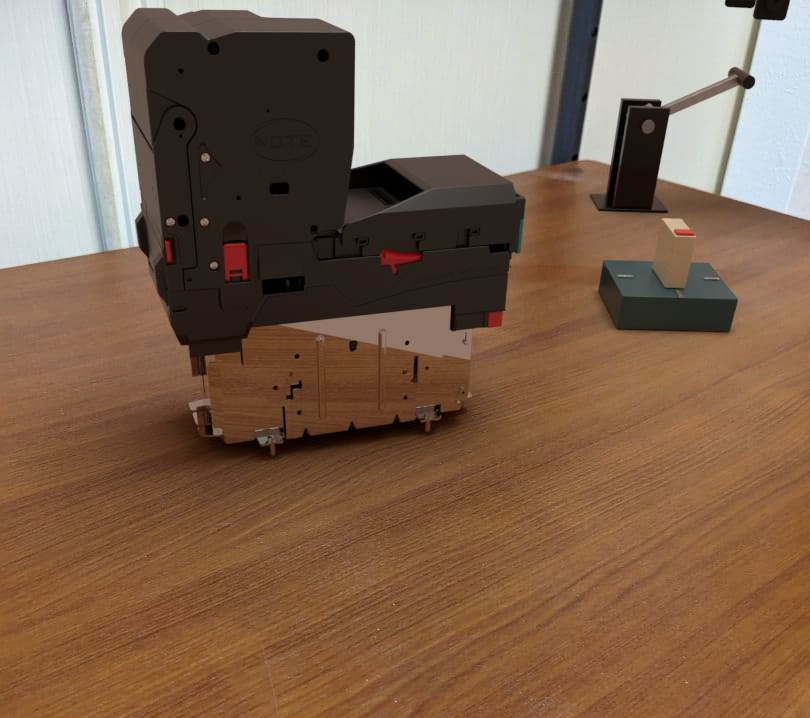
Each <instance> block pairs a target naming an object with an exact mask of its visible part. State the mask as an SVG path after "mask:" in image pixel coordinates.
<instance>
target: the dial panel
mask: <svg viewBox="0 0 810 718" xmlns="http://www.w3.org/2000/svg"><path fill="white" fill-rule="evenodd" d="M653 261H654V260H625V259H624V260H619V259H603V260H602V265H601V266H602V267H601V273H600V277H599V284H598V293H599V295H600V297H601V298H602V301H603V303H604V304H605V307H606V309H607V312H608V313H609V315H610V317H611V319H612V321H613V323H614V326H615V328H616V329H618V330H649V331H650V330H651V331H652V330H653V331H688V332H689V331H691V332H725V333H730V332H731V330H732V326H733V321H734V318H735V313H736V309H737V305H738V301H739V298H738V297H737V296H736V294H735V293H734V292H733V291H732V290H731V288H730V287H729V286H728V284H727V283H726V282H725V280H723V279H722V277H721V276H720V274H719V273H718V272H717V270H715V268H714V267H713V266H712V264H711V263H710V262H692V261H691V264H690V268H689V273H688V277H687V282H686V287H685V288H665V287H664V286H663V284H662V282H661V281H660V279H659V278H658V276H657V275H656V273H655V271H654V270H653V268H652V266H653Z"/></svg>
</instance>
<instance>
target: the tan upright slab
mask: <svg viewBox="0 0 810 718" xmlns="http://www.w3.org/2000/svg"><path fill="white" fill-rule="evenodd" d="M659 225H660V226H659V230H658V236H657V240H656V245H655V250H654V255H653V260H652V261H653V266H652V268H653V270H654V271H655V273H656V275H657V276H658V278H659V279H660V281H661V282H662V284H663V286H664V287H665V288H685V287H686V282H687V277H688V273H689V268H690V264H691V262H692V259H693V254H694V250H695V246H696V245H695V244H696V241H697V236H696V235H695V234H696V233H695V231H693V229H690V227H689V226H688V225H687V223H685V221H684V220H683V218H673V217H672V218H667V217H662V218H661V220H660V224H659Z"/></svg>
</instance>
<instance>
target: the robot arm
mask: <svg viewBox="0 0 810 718" xmlns="http://www.w3.org/2000/svg"><path fill="white" fill-rule="evenodd" d="M790 3H791V0H724V6H725V7H726V8H736V9H737V8H739V9H753V8H754V9H753V13H752V17H753V19H755V20H758V21H778V22H779V21H780V22H783V21H784V20H785V19H786V18H787V16H788V11H789V8H790Z"/></svg>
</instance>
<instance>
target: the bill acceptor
mask: <svg viewBox="0 0 810 718" xmlns="http://www.w3.org/2000/svg"><path fill="white" fill-rule="evenodd" d="M121 27H122V28H121V32H120V33H121V35H120V36H121V42H122V52H123V57H124V65H125V72H126V82H127V91H128V98H129V108H130V120H131V127H132V128H131V129H132V137H133V146H134V153H135V161H136V171H137V180H138V185H139V186H138V188H139V191H140V201H141V202H140V203H139V204H140V205H139V206H140V212H139V213H138V214H137V216H136V218H135V219H134V224H135V226H134V227H135V233H136V239H137V245H138V248H139V250H140V252H142V253H143V254H144V255H145V257H146V258H147V267H148V272H149V275H150V278H151V280H152V282H153V285H154V288H155V290H156V293H157V295H158V297H159V301H160V303H161V305H162V307H163V310H164V313H165V314H166V317H167V319H168V322H169V325H170V327H171V329H172V331H173V333H174V335H175V338H176V339H177V341H178V343H179V345H180V346H182V347H184V346H185V347H186V346H187V347H188V355H189V359H190V360H189V361H190V369H191V376H192V378H196V377H199V383H200V388H201V392H202V395H203V398H202V399H199V400H193V401H191V402H189V403H188V407H189V411H190V412H192V419H193V421H194V423H195V425H196V427H197V431H198V434H199V436H200V437H202V438H208V437H209V438H211V437H213V438H215V437H220V439H221V440H222V441H223V443H224V444H226V445H230V444H232V445H233V444H238V443H239V444H240V443H244V442H251V441H255V439H256V441H257V443H258V445H259V446H260V447H269V455H270V456H272V457H273V456H276V455H277V450H276V449H277V448H276V445H281V444H284V439H286V440H292V439H300V438H302V437H303V435H304V433H305V434H306V435H308V436H310V437H312V436H320V435H326V434H334V433H339V432H347V431H349V429H350V428H351V427H352V428H354V429H355V430H360V429H361V430H362V429H367V428H375V427H381V426H387V425H392V424H393V423H394V421H397V422H399V423H407V422H413V421H415V420H416V419H417V420H418V421H419V423H424V432H427V433H429V432H431V421H440V420H442V415H441V414H442V413H449V412H454V411H460V410H461V406H463V405H464V404H466V402H468V400H470V399H473V395H472V393H471V392H470V390H469V389H470V376H471V366H472V365H471V363H472V362H471V361H472V350H473V335H474V329H481V328H483V329H485V328H487V329H491V328H498V327H502V325H503V318H504V317H503V315H504V312H506V304H507V294H508V281H509V271H510V265H511V264H510V263H511V260H512V259H513V258H512V257H513V253H515V254H520V253H521V251H522V243H523V231H524V221H525V215H526V214H525V213H526V202H527V198H526V197H525V196H524V195H522V194H520V193H519V192H517V191H516V190H515V186H514V182H512V181H511V180H509V179H507V178H506V177H504V176H502V175H501V174H499V173H497V172H495V171H494V170H492V169H490V168H488V167H487V166H485V165H483V164H481V163H480V162H478V161H477V160H475V159H473V158H471V157H470V156H467V154H449V155H447V154H445V155H429V156H416V157H415V156H414V157H413V156H412V157H411V156H410V157H397V158H395V157H394V158H387V159H384V160H379V161H376V162H372V163H368V164H363V165H359V166H356V167H352V165H353V159H354V153H355V152H354V151H355V115H356V113H355V110H356V109H355V108H356V107H355V104H356V103H355V102H356V101H355V100H356V99H355V98H356V38H355V36H354V34H353V33H352V32H350V31H348V30H345V29H343V28H341V27H339V26H336V25H334V24H333V23H330V22H328V21H325V20H323V19H321V18H311V17H309V18H308V17H270V16H269V17H268V16H262V15H259V14H256V13H254V12H252V11H250V10H248V9H199V10H196V11H193V10H192V11H188V12H184V13H181V14H178V15H177V14H176V13H174V12H173V11H172V10H171V9H169V8H166V7H137V8H136V9H134V10H133V12H132V13H131V15H130V16H129V17H128V18H127V20H126V21H125V22H124V23H123V25H122V26H121Z"/></svg>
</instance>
